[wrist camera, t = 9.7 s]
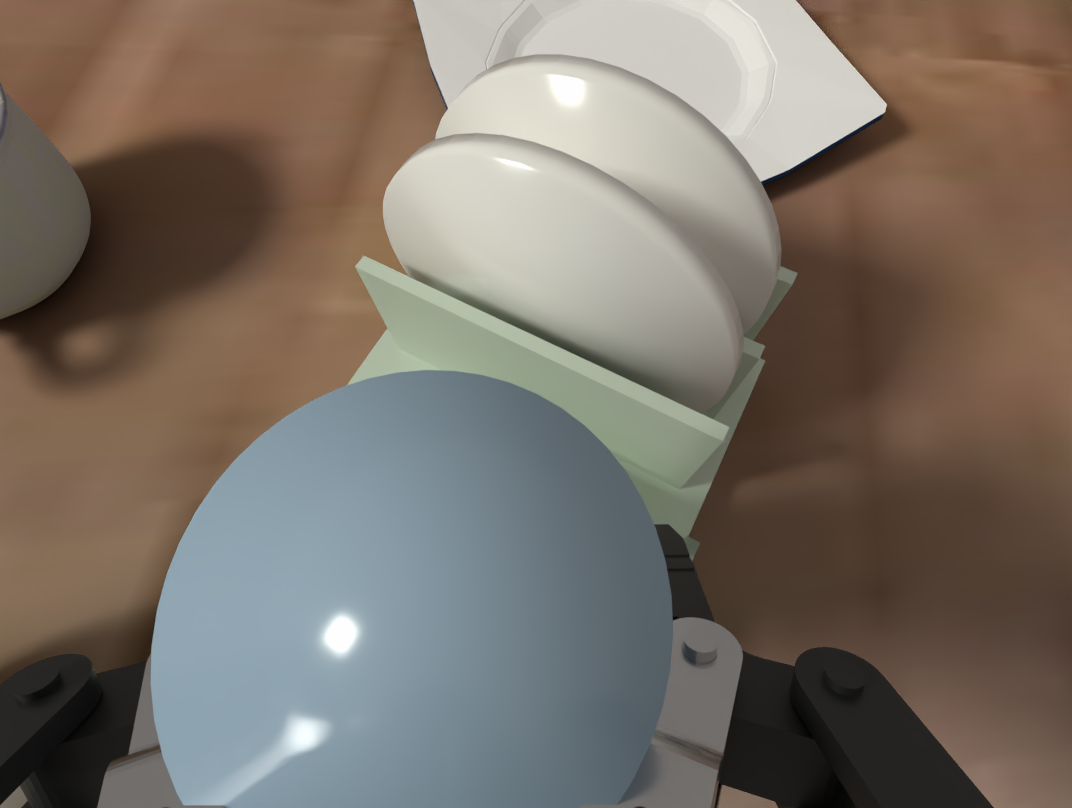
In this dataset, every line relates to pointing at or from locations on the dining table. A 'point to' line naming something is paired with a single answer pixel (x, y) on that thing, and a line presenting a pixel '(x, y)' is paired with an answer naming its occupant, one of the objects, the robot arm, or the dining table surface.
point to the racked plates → (593, 221)
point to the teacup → (36, 213)
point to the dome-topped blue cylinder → (414, 610)
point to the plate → (678, 62)
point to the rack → (571, 387)
